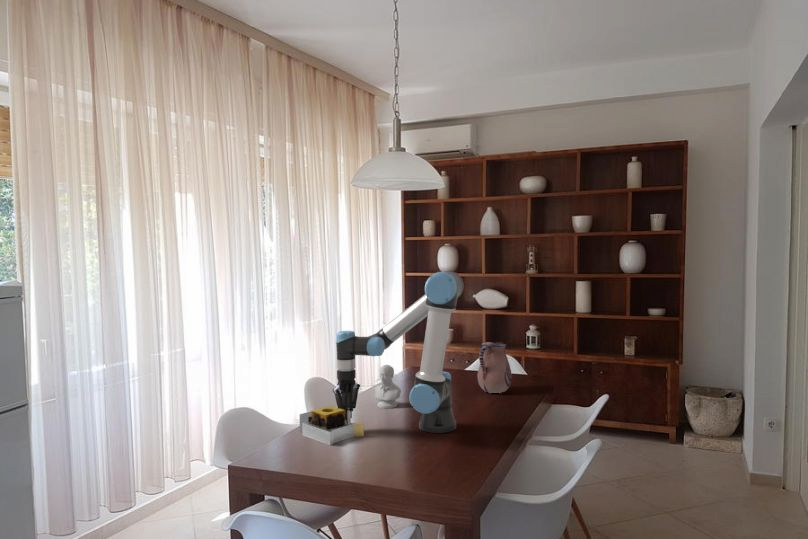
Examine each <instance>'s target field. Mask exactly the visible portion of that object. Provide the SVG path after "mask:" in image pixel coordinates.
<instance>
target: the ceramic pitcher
mask: <svg viewBox="0 0 808 539" xmlns="http://www.w3.org/2000/svg"><path fill="white" fill-rule="evenodd" d="M481 346H482V347H481V348H480V349H479V354H478V358H479V359H478V360H479V366H478V369H477V376H476V377H477V382H478V385H479V386H480V388H481V389H482V390H483V391H484V392H485V393H486V392H488V394H491V393H499V394H503V393H505V392H506V391H507V390H508V389H509V388H510V386H511V384H512V380H513V373H512V369H511V364H510V362H509V359H508V356H507V353H506V347H507V344H505V343H503V342H500V341H499V342H498V341H496V342H493V341H492V342H490V341H486V342H483V343H481ZM502 392H503V393H502Z"/></svg>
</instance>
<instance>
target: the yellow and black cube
mask: <svg viewBox="0 0 808 539" xmlns="http://www.w3.org/2000/svg"><path fill="white" fill-rule="evenodd" d="M310 412H311V423H312V424H313V425H316V426H319V427H322V428H325V429H328V430H329V429H333V428H336V427H340V426H343V425H345V410H343V409H340V408H338V407H337V406H336V407H335V406H331V405H330V406H325V407H321V408H317V409H314V410H313V409H312V410H310Z"/></svg>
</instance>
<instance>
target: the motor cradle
mask: <svg viewBox="0 0 808 539" xmlns="http://www.w3.org/2000/svg"><path fill="white" fill-rule="evenodd" d="M299 432H301V434H302V436H303V437H305V438H309V439H311V440H314V441H317V442H318V443H319V442H320V443H322V444H325V445H328V446H332V445H334V443H335V444H336V443H339V442H341V440H342V441H344V439H345V440H347V439H348V440H349V439H350V438H355V437H364V436H365V427H364V422H351V423H350V424H346V425H343V426H340V427H336V428H333V429H329V430H328V429H325V428H322V427H319V426H316V425H313V424H312V423H311V411H308V412H304V413H300V414H299Z"/></svg>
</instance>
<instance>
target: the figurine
mask: <svg viewBox="0 0 808 539" xmlns="http://www.w3.org/2000/svg"><path fill="white" fill-rule="evenodd" d="M394 375H395V370H394V367H393V366H391V365H389V364H385V365H382V366H380V369H379V379H380V382H381V384H379V385H377V386H375V388H374V398H375V399H377V400H379V402H378V403H377V405H376V406H377V408H380V409H394V408H396V407H398V402H397V401H396V400H398V399H399V398H401V394H402V390H401V388H400V387H399V386H398V385H397V384H395V383H394V382H393V380H392V379H393V378H394Z"/></svg>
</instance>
